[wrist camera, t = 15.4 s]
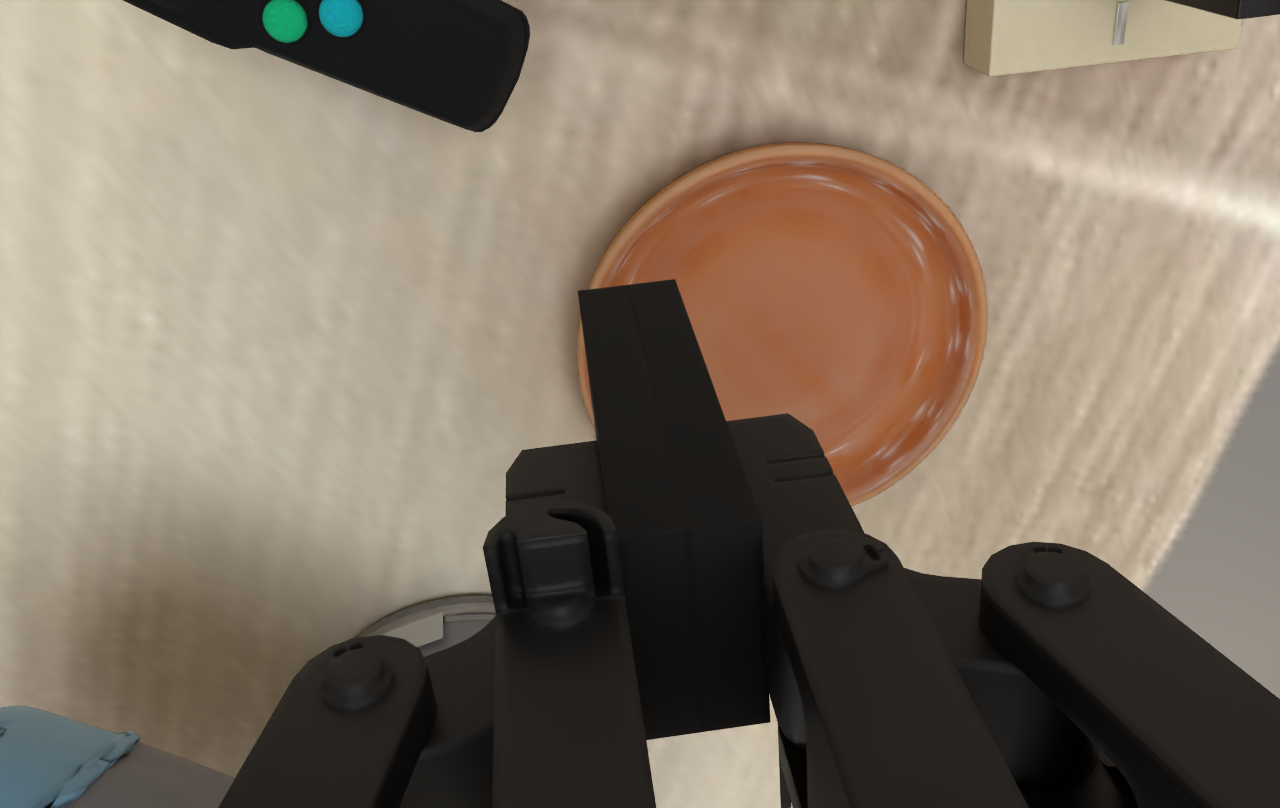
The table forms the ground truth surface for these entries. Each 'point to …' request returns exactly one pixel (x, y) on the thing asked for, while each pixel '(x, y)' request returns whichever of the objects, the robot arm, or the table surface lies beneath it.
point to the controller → (380, 46)
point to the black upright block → (1235, 7)
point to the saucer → (818, 299)
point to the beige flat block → (1087, 33)
